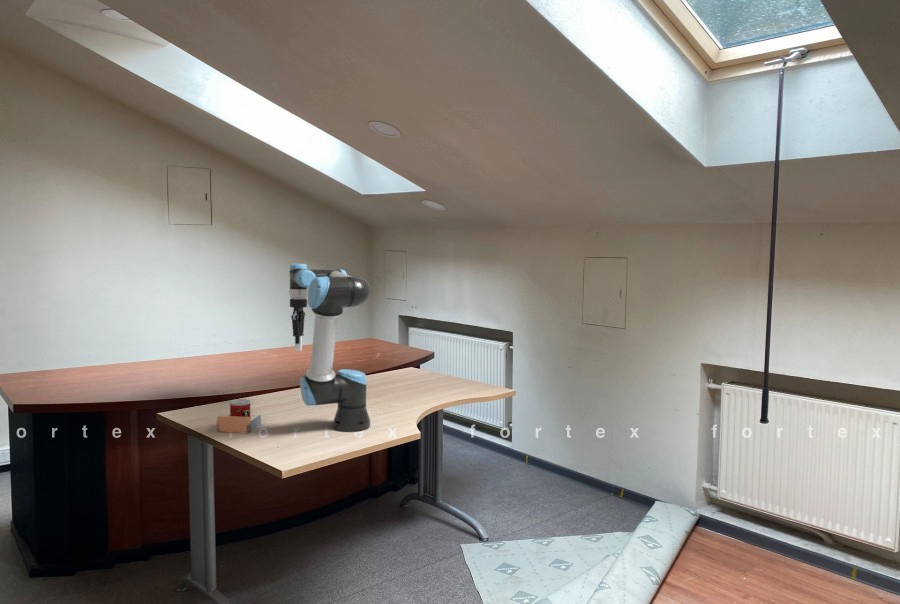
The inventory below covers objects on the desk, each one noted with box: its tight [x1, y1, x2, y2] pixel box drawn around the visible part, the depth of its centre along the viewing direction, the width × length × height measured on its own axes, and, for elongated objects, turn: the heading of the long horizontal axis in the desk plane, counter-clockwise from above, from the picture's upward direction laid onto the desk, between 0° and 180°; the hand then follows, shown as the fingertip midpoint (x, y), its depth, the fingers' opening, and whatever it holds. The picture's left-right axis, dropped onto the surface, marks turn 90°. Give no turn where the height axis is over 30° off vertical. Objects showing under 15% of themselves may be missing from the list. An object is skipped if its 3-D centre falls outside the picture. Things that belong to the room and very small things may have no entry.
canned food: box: [229, 398, 251, 417], centre depth 248 cm, size 8×8×11 cm
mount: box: [216, 414, 262, 434], centre depth 249 cm, size 13×12×6 cm
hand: (298, 350), depth 278 cm, fingers closed
